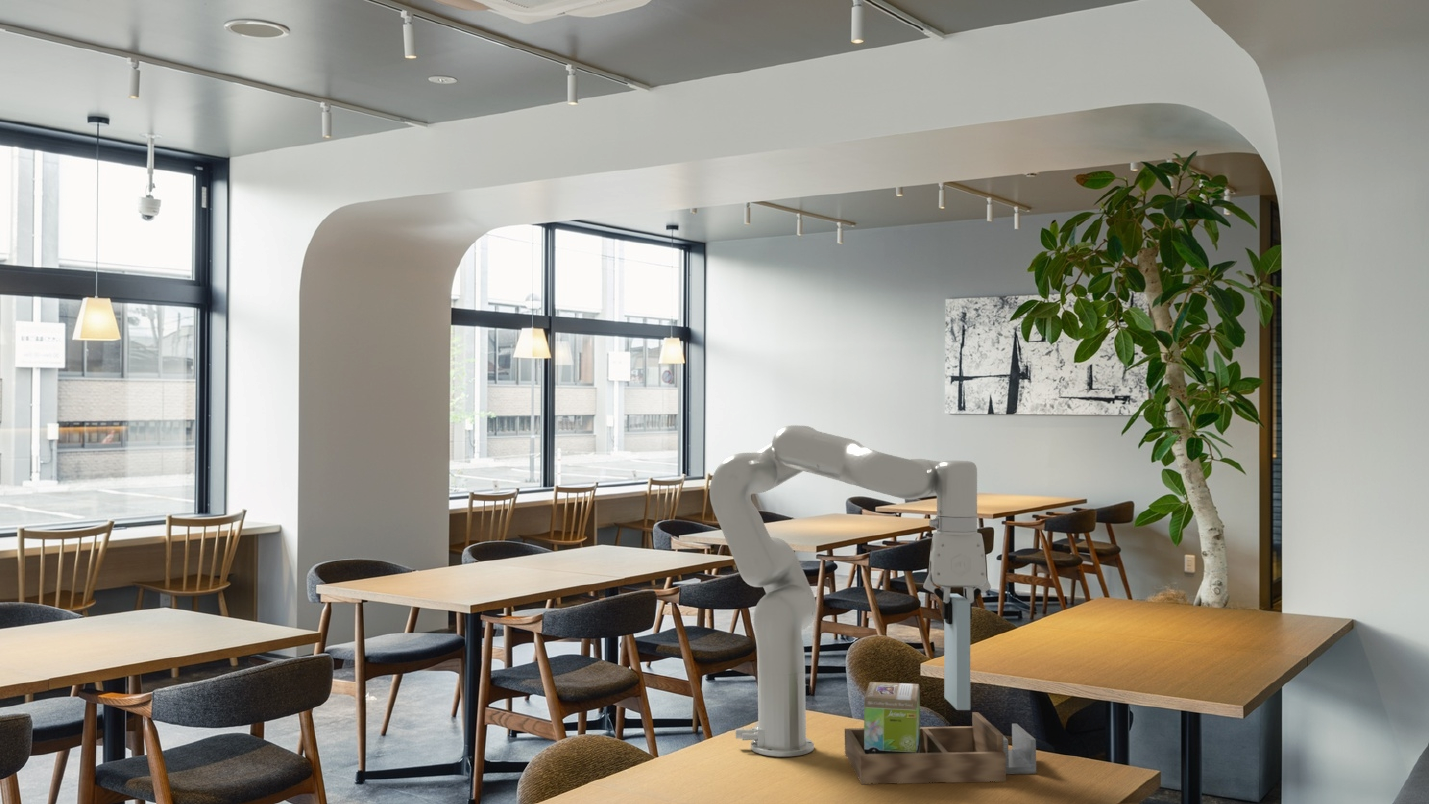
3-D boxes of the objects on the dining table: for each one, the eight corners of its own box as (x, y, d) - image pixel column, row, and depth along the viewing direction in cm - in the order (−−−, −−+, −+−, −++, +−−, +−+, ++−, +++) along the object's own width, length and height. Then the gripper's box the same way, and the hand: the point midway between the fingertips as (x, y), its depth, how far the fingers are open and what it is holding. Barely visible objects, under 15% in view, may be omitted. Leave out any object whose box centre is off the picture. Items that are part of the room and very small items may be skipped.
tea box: (918, 781, 209) (917, 698, 209) (863, 778, 211) (861, 696, 211) (921, 758, 223) (919, 681, 224) (868, 756, 225) (867, 680, 226)
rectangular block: (956, 710, 213) (956, 601, 214) (944, 697, 223) (944, 593, 224) (970, 709, 213) (970, 601, 214) (957, 697, 223) (957, 593, 224)
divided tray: (861, 784, 207) (860, 739, 207) (844, 754, 227) (844, 713, 227) (1006, 781, 208) (1005, 736, 208) (977, 751, 228) (976, 710, 228)
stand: (1004, 774, 212) (1003, 740, 212) (986, 756, 224) (985, 724, 224) (1036, 773, 212) (1035, 739, 213) (1017, 755, 224) (1016, 723, 225)
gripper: (918, 527, 215) (918, 626, 214) (1004, 527, 215) (1004, 626, 215) (910, 524, 222) (910, 620, 222) (993, 524, 223) (993, 620, 222)
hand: (957, 622), depth 218 cm, fingers closed on rectangular block, 2 cm apart
